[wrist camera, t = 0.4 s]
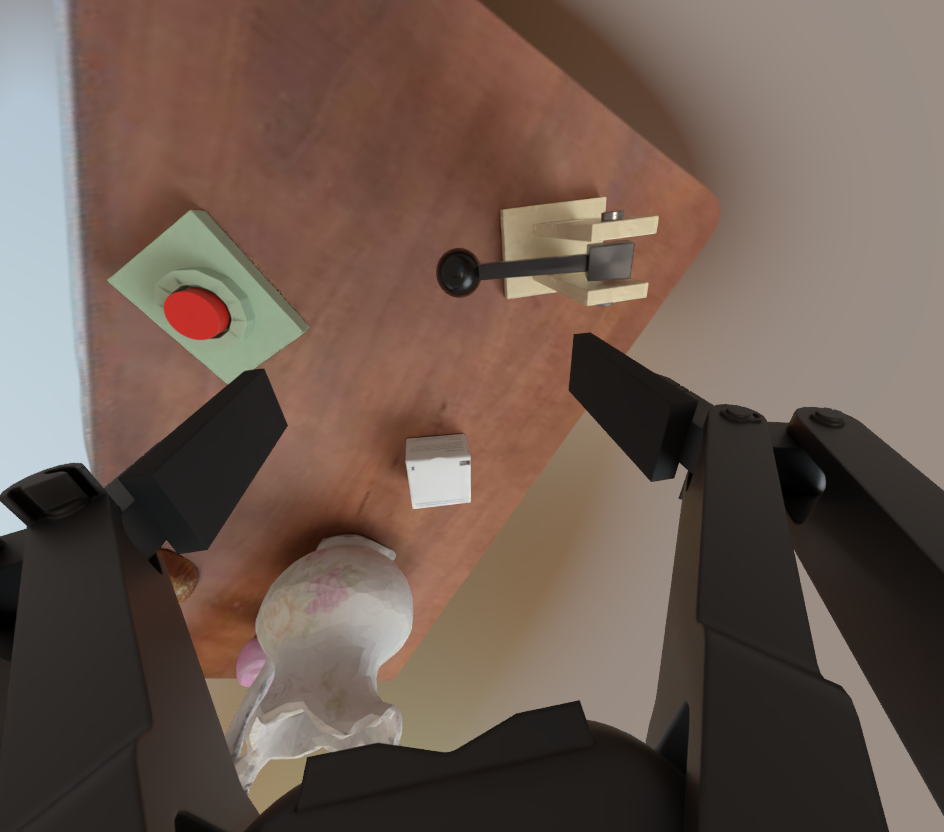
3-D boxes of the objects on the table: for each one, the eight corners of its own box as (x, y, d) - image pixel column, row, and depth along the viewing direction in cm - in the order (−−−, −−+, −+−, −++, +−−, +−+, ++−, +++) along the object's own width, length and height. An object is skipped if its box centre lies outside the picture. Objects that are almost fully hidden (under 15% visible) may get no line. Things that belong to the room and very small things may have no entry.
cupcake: (310, 631, 60) (292, 699, 52) (256, 631, 58) (228, 702, 49) (311, 601, 56) (292, 670, 48) (254, 601, 54) (223, 672, 45)
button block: (125, 277, 30) (87, 283, 27) (205, 210, 29) (176, 208, 25) (239, 377, 36) (220, 393, 33) (310, 327, 34) (298, 338, 31)
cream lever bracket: (504, 297, 36) (547, 333, 24) (499, 210, 32) (549, 201, 20) (594, 284, 36) (679, 313, 24) (600, 197, 32) (706, 181, 20)
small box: (411, 483, 47) (410, 510, 42) (405, 436, 43) (404, 461, 38) (466, 478, 47) (471, 504, 43) (466, 431, 44) (471, 455, 39)
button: (165, 304, 28) (151, 309, 27) (199, 278, 28) (186, 281, 26) (207, 342, 30) (196, 349, 29) (239, 318, 30) (230, 323, 28)
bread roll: (156, 569, 52) (139, 628, 48) (86, 556, 44) (56, 626, 39) (218, 553, 53) (206, 610, 48) (160, 538, 44) (139, 606, 40)
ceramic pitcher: (341, 608, 60) (314, 821, 40) (238, 568, 49) (127, 831, 29) (434, 548, 56) (456, 752, 35) (342, 491, 45) (299, 735, 25)
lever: (446, 293, 29) (434, 303, 26) (440, 248, 27) (426, 253, 24) (621, 281, 26) (630, 290, 23) (627, 228, 24) (638, 231, 21)
